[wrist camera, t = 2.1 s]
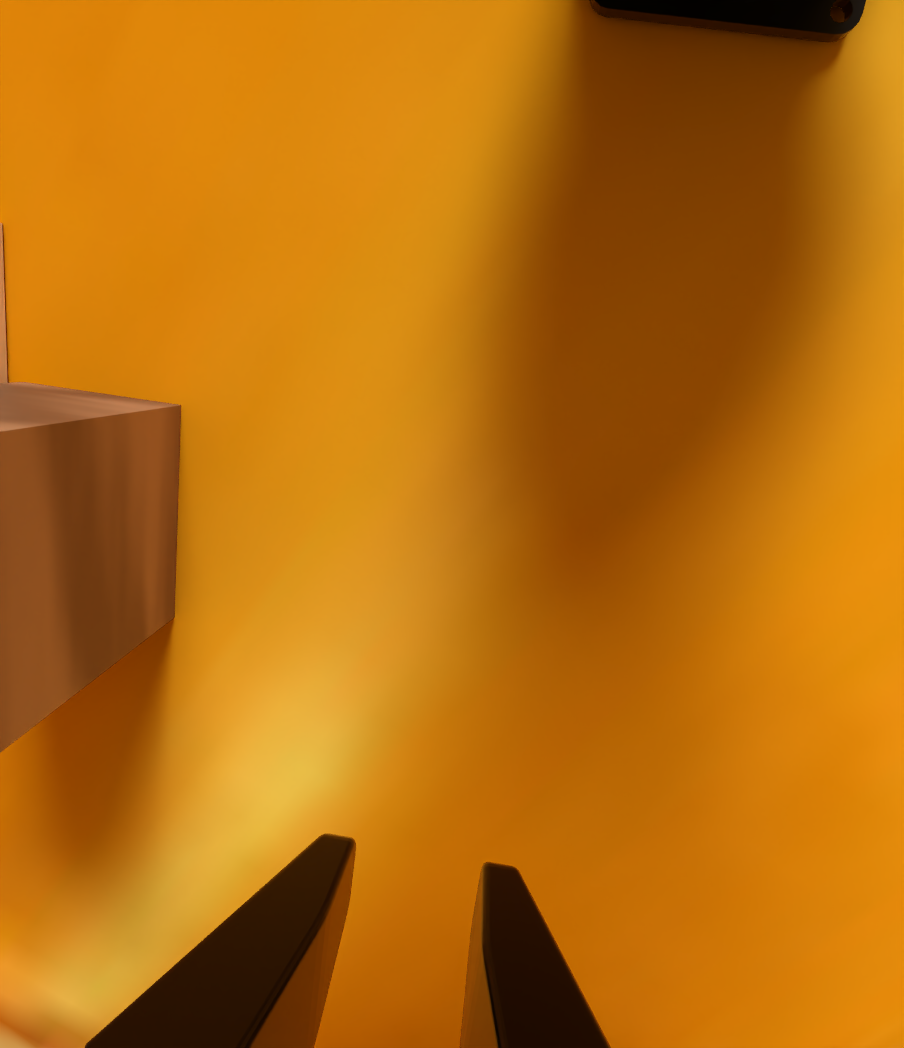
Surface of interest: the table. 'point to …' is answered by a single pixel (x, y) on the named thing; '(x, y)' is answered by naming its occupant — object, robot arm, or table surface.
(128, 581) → the walnut block
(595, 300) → the table surface
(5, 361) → the mat
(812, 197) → the table surface
